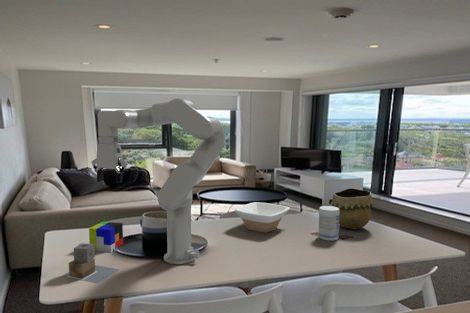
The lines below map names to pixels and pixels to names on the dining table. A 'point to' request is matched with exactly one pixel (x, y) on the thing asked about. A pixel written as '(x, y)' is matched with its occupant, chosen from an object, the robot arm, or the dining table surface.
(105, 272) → the board
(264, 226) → the bowl
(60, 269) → the dining table surface
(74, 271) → the walnut block
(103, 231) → the puzzle toy
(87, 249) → the grey cube
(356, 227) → the clay pot
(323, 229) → the supplement tub
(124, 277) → the dining table surface
